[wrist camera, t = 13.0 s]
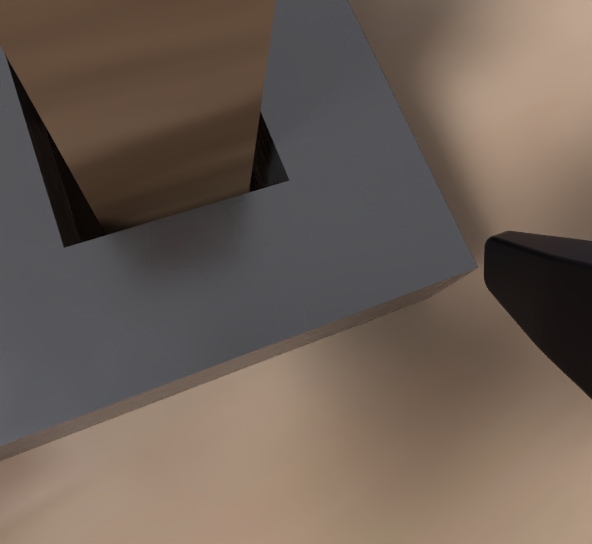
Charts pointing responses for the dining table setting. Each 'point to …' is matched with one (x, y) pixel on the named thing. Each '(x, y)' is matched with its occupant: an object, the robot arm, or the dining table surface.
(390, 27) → the dining table surface
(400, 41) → the dining table surface
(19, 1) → the keyed plug
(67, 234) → the hub block
